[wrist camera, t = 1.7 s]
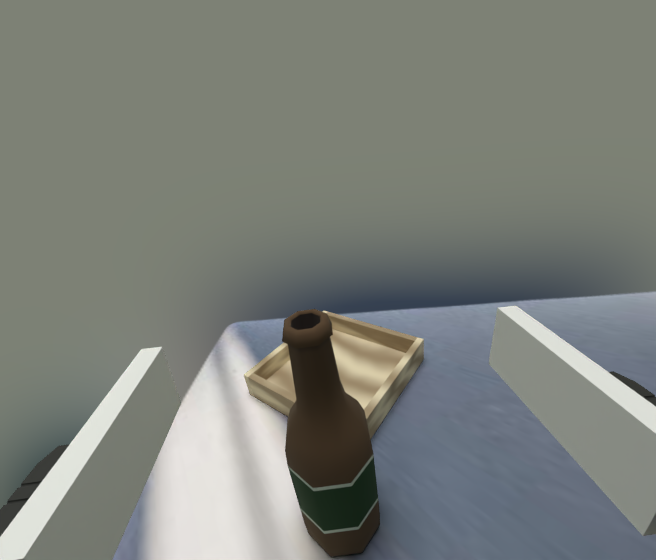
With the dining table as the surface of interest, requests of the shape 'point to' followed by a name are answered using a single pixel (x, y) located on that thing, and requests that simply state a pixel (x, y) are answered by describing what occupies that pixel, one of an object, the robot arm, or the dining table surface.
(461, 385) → the dining table surface
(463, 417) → the dining table surface
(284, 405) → the oak tray
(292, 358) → the beer bottle
